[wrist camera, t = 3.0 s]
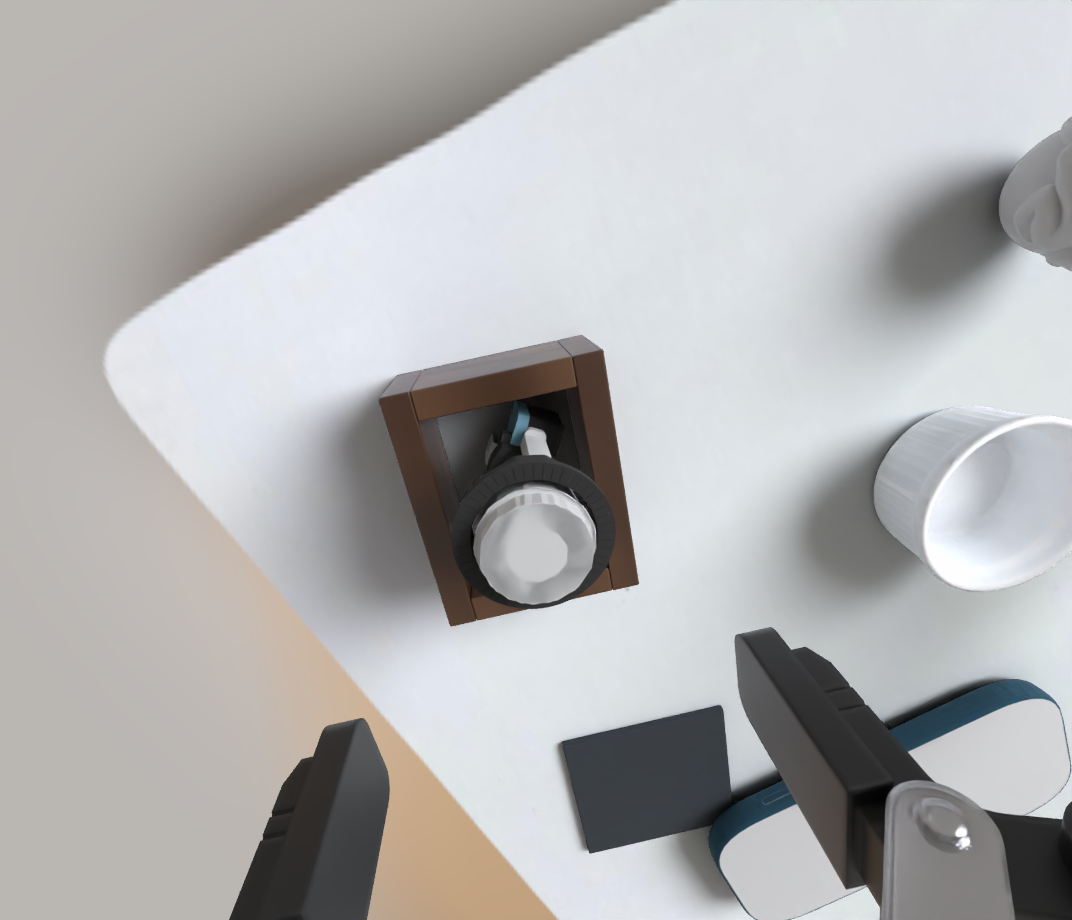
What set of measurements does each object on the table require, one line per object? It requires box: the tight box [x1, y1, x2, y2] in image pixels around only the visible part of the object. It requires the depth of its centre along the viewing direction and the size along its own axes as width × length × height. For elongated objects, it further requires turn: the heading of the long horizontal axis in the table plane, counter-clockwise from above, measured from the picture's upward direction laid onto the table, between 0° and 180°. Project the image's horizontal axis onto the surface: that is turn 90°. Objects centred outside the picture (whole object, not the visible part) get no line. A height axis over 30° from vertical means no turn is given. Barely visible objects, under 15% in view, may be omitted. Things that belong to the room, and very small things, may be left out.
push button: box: [452, 401, 616, 609], centre depth 21 cm, size 7×5×10 cm
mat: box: [562, 705, 732, 854], centre depth 34 cm, size 10×10×1 cm
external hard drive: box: [708, 679, 1071, 920], centre depth 35 cm, size 24×12×2 cm, turn 118°
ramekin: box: [874, 406, 1072, 592], centre depth 26 cm, size 9×9×4 cm
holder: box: [379, 335, 639, 626], centre depth 24 cm, size 9×11×4 cm
